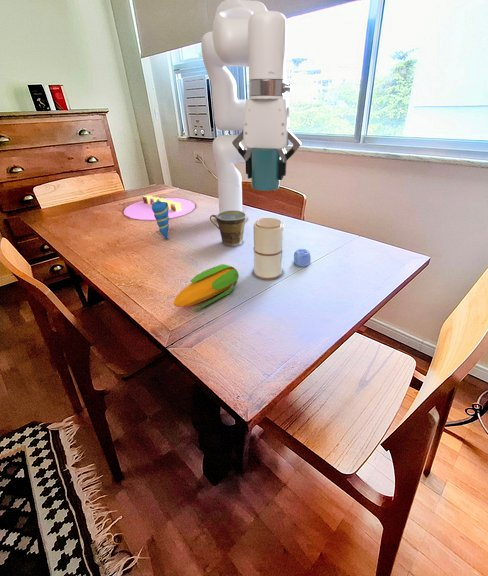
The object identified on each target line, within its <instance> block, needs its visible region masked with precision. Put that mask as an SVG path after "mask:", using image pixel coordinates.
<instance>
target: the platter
mask: <svg viewBox="0 0 488 576" xmlns="http://www.w3.org/2000/svg"><path fill="white" fill-rule="evenodd" d="M158 198H159V201H161V202H164V203H165V204H166V207H167V209H168V217H169V219H173V218H174V219H175V218H178V217H182V216H185V215H187V214H188V213H189V214H190V213H191V212H192V211H193V210H194V209H195V208H196V205H195V203H194V202H193V201H192V200H188V199H185V198H179V197H158V196H153V195H150V194H147V195H143V196H142V201H138V202H137V201H136V202H134V203H131V204H130V205H128V206H127V207H124V210H123V214H124V216H125V217H127V218H130V219H134V220H139V221H157V220H156V218H155V217H154V212H153V210H152V204H153V203H154V202H157V199H158Z"/></svg>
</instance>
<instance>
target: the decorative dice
mask: <svg viewBox="0 0 488 576" xmlns="http://www.w3.org/2000/svg"><path fill="white" fill-rule="evenodd" d="M293 261H294V264H295V265H296V266H298V267H306V266H308V265H309V264H310V263H311V252H310V250H308V249H306V248H298V249H297V250H295V251H294V253H293Z"/></svg>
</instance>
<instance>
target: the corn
mask: <svg viewBox="0 0 488 576" xmlns="http://www.w3.org/2000/svg"><path fill="white" fill-rule="evenodd" d="M239 277H240V275H239V272H238V270H237V268H235V267H234V266H232V265H229V264H226V263H225V264H224V263H223V264H222V263H221V264H218V265H217V266H216V265H215V266H213V267H211V268H208V269H206V270H203V271H201V272H199V273H198V274H196V275H195V276H194V277H193V278H192V279H191V280H190V283H189V284H188V285H187V286H185V287H184V288H183V289H181V291H180V292H179V293H178V294H177V295H176V296H175V298H174V300H173V302H172V304H173V306H175V307H176V308H183V307H191V306H194V305H198V304H200V303H203V302H204V301H207V300H208V301H207V302H205V303H203V304H201V305H199V306H197V307H195V308H193V310H192V311H193V312H194V311H196V310H199V309H202V308H205V307H206V306H208V305H210V304H212V303H214V302H216V301H218V300H220V299H221V298H223V297H225V296H227V295H229V294H231V293H232V291H233V290H234V288H235V287H236V285H237V283H238V279H239ZM211 298H212V299H211ZM209 299H210V300H209Z"/></svg>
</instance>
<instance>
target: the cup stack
mask: <svg viewBox="0 0 488 576" xmlns="http://www.w3.org/2000/svg"><path fill="white" fill-rule="evenodd" d="M284 225H285V224H284V222H282V221H281V220H280V219H278V218H275V217H262V218H258V219H257V220H255V221H254V222H253V275H254V276H255V277H256V278H257V279H261V280H265V281H271V280H275V279H278V278H280V277H281V276H282V272H283V271H282V269H283V268H282V267H283V251H284V247H283V246H284V227H285V226H284Z"/></svg>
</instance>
